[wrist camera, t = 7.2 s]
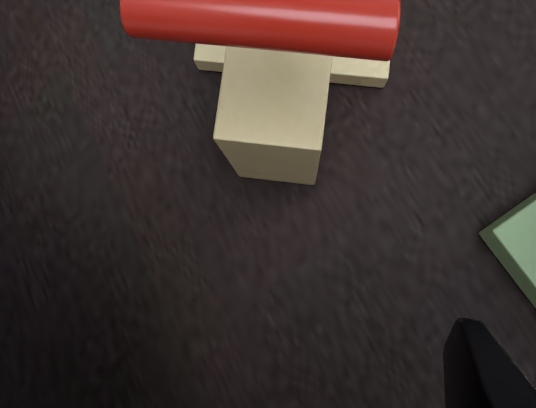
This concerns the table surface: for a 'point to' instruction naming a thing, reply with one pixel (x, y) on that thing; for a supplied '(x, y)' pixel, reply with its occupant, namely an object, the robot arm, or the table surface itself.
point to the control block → (516, 244)
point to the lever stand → (340, 73)
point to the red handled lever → (271, 25)
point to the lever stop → (273, 113)
